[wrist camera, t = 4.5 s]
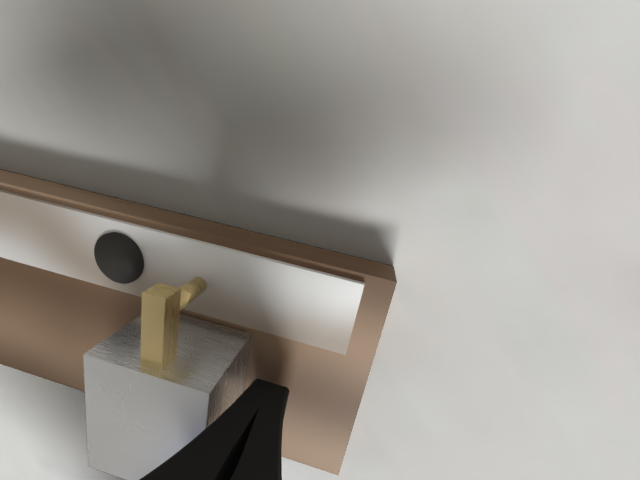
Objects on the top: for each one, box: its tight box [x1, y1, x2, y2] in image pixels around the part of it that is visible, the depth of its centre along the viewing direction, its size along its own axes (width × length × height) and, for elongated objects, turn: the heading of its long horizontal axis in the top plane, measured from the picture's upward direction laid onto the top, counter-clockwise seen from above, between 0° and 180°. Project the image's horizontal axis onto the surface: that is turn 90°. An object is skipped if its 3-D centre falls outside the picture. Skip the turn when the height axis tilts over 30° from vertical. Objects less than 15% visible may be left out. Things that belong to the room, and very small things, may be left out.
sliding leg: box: [83, 277, 251, 480], centre depth 10 cm, size 7×4×3 cm, turn 169°
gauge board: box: [0, 169, 397, 475], centre depth 12 cm, size 9×26×4 cm, turn 79°
